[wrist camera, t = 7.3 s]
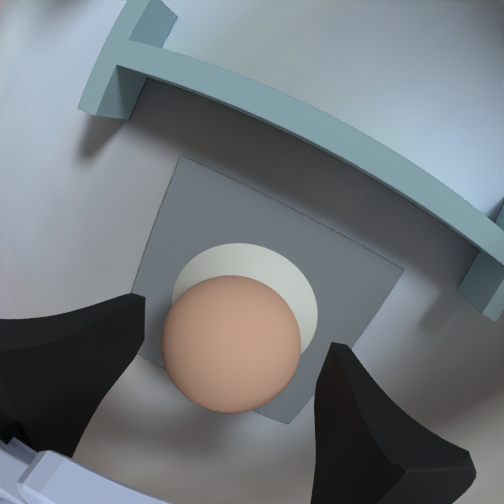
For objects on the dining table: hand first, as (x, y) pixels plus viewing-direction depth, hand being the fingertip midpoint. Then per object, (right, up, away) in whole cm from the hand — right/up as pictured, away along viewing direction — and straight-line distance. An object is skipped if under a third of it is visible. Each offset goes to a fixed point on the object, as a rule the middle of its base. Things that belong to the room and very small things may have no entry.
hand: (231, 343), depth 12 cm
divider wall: (+4, +7, 0) cm, 8 cm away
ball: (0, +1, +2) cm, 2 cm away
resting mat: (0, +1, +2) cm, 2 cm away
